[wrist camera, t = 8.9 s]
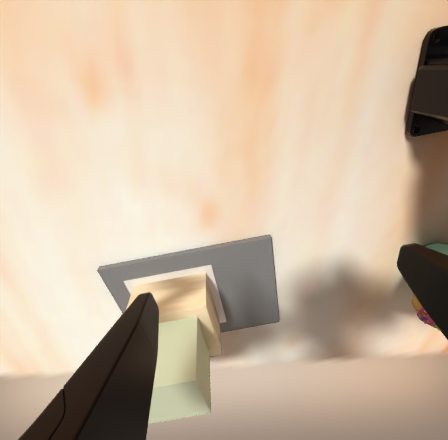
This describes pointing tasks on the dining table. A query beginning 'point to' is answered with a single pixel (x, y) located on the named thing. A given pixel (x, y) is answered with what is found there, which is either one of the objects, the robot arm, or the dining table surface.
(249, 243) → the grey flat plate
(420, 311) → the cupcake
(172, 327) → the green cube
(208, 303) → the maple block
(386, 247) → the dining table surface
